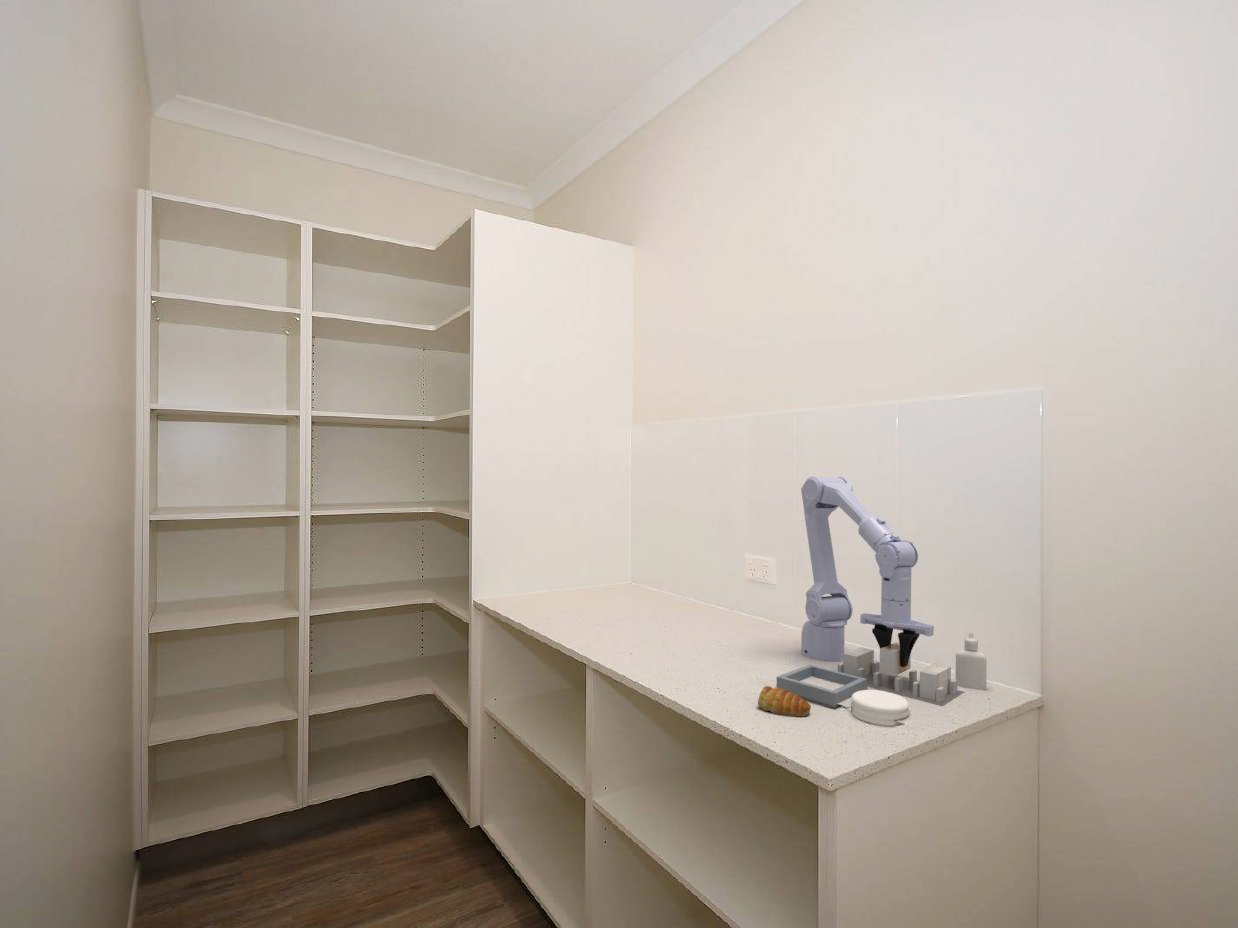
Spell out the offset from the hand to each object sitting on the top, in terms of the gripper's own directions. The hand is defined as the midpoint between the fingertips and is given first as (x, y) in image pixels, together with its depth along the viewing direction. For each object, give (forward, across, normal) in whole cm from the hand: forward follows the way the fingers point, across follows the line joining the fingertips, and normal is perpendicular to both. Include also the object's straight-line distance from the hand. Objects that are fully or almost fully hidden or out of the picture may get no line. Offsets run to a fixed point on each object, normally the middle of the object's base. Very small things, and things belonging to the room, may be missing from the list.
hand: (895, 663), depth 133 cm
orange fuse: (+1, 0, 0) cm, 1 cm away
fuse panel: (+5, 0, 0) cm, 5 cm away
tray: (+5, -9, -14) cm, 17 cm away
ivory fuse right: (+4, +8, 0) cm, 9 cm away
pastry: (+6, -10, -28) cm, 30 cm away
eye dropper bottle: (+5, +11, +11) cm, 17 cm away
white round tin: (+6, +5, -17) cm, 19 cm away
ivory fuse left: (+4, -8, 0) cm, 9 cm away
